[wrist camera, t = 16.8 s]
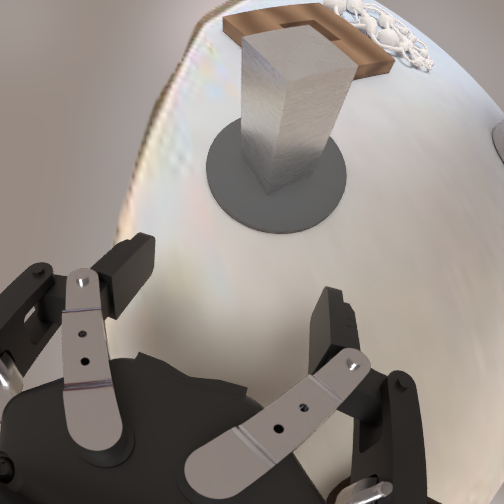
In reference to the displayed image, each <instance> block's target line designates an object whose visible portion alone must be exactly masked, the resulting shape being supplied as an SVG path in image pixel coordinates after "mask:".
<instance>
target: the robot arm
mask: <svg viewBox="0 0 504 504" xmlns="http://www.w3.org/2000/svg"><path fill="white" fill-rule="evenodd" d="M492 135H493V141H494V144H495V146H496V149H497V151H498V153H499V155H500V157H501V158H502V160H503V162H504V120H503V121H502V122H501V123H500V124H499V125H498V126H497V127H496V128H495V129H494V130H493V134H492ZM154 257H155V237H154V236H151V235H147V234H144V233H141V232H139V233H138V234H137V235H135V236H134V237H133V238H132V239H131V240H128V239H127V240H124V241H122V242H119V243H118V244H116V245H115V246H114V247H113V248H112V250H110V251H109V252H108V253H107V254H106V255H104V256H103V257H102V258H101V259H100V260H99V261H98V262H97V263H95V264H94V265H93V266H92V267H91V268H90V269H88V268H81V269H77V270H75V271H73V272H71V273H70V274H69V275H68V276H61V275H54V273H53V268H52V266H51V265H50V264H48V263H44V262H40V263H35V264H33V265H31V266H29V267H28V268H27V269H26V270H25V271H24V272H23V273H22V274H21V275H19V276H18V277H17V278H16V279H15V280H14V281H13V282H12V283H11V284H10V285H9V286H8V287H7V288H6V289H5V290H4V291H3V292H2V293H1V294H0V424H1V431H0V504H326V502H325V500H324V499H323V497H322V496H321V494H320V493H319V491H318V490H317V489H316V487H315V486H314V484H313V483H312V481H311V480H310V478H309V477H308V475H307V474H306V472H305V470H304V469H303V467H302V466H301V464H300V463H299V461H298V460H297V458H296V456H295V455H294V453H293V451H294V450H296V449H297V448H298V447H299V446H300V445H301V444H302V443H303V442H304V441H305V440H306V439H308V438H309V437H310V436H311V435H312V434H313V433H314V432H315V431H316V430H317V429H318V428H319V427H320V426H321V425H322V424H323V423H324V422H325V421H326V420H327V419H328V418H329V417H330V416H331V415H332V414H333V413H334V412H335V411H336V410H338V411H340V412H343V413H345V414H347V415H349V416H351V417H354V432H353V454H352V469H351V481H350V486H348V487H346V488H344V489H343V490H342V491H341V492H340V493H339V494H338V496H337V499H336V502H335V504H427V475H426V459H425V447H424V437H423V429H422V421H421V414H420V407H419V401H418V394H417V389H416V384H415V382H414V380H413V379H412V377H411V376H410V375H408V374H407V373H405V372H403V371H399V370H396V371H393V372H391V373H390V374H389V375H388V376H386V375H384V374H381V373H379V372H377V371H375V370H373V369H372V368H371V365H370V361H369V359H368V358H367V356H366V355H365V354H364V353H362V352H361V351H360V344H359V337H358V330H357V324H356V318H355V312H354V311H353V309H352V307H351V306H350V304H348V303H344V302H343V295H342V291H341V290H338V289H335V288H331V287H327V286H326V287H325V288H324V289H323V291H322V294H321V296H320V298H319V300H318V302H317V305H316V307H315V309H314V311H313V313H312V317H311V321H310V342H309V369H308V375H307V376H306V377H305V378H304V379H302V380H301V381H300V382H299V383H297V384H296V385H295V386H294V387H292V388H291V389H290V390H289V391H287V392H286V393H285V394H283V395H282V396H281V397H279V398H278V399H277V400H275V401H274V402H273V403H271V404H270V405H269V406H267V407H266V408H263V407H262V406H261V405H260V404H259V403H257V402H256V401H255V400H253V399H252V398H250V397H248V396H246V392H247V387H243V386H240V385H236V384H232V383H229V382H225V381H222V380H215V379H204V378H194V377H189V376H187V375H185V374H183V373H182V372H180V371H179V370H177V369H175V368H174V367H172V366H171V365H169V364H167V363H166V362H164V361H162V360H159V359H156V358H154V357H151V356H148V355H146V354H143V353H141V352H139V353H138V355H137V357H136V358H135V359H133V358H118V359H112V360H111V357H110V352H109V346H108V340H107V334H106V327H105V320H106V318H107V317H110V318H113V319H115V320H117V319H118V317H119V316H120V315H121V313H122V312H123V311H124V309H125V308H126V307H127V305H128V304H129V303H130V302H131V300H132V299H133V298H134V296H135V295H136V294H137V293H138V291H139V290H140V289H141V287H142V286H143V285H144V284H145V282H146V281H147V280H148V279H149V277H150V276H151V274H152V272H153V268H154ZM33 306H34V307H35V311H34V312H33V314H32V315H31V316H30V317H29V318H28V320H27V321H26V322H25V323H24V318H25V316H26V314H27V313H28V312H29V311H30V310H31V308H32V307H33ZM61 324H62V356H63V373H64V377H63V378H60V379H57V380H55V381H52V382H49V383H46V384H43V385H40V386H38V387H35V388H32V389H29V390H26V391H23V392H22V390H23V386H24V380H23V377H24V376H25V374H26V373H27V371H28V370H29V368H30V367H31V365H32V364H33V363H34V361H35V360H36V358H37V357H38V355H39V354H40V353H41V351H42V350H43V348H44V347H45V346H46V344H47V343H48V342H49V340H50V339H51V337H52V336H53V335H54V333H55V332H56V331H57V329H58V328H59V327H60V326H61Z"/></svg>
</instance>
